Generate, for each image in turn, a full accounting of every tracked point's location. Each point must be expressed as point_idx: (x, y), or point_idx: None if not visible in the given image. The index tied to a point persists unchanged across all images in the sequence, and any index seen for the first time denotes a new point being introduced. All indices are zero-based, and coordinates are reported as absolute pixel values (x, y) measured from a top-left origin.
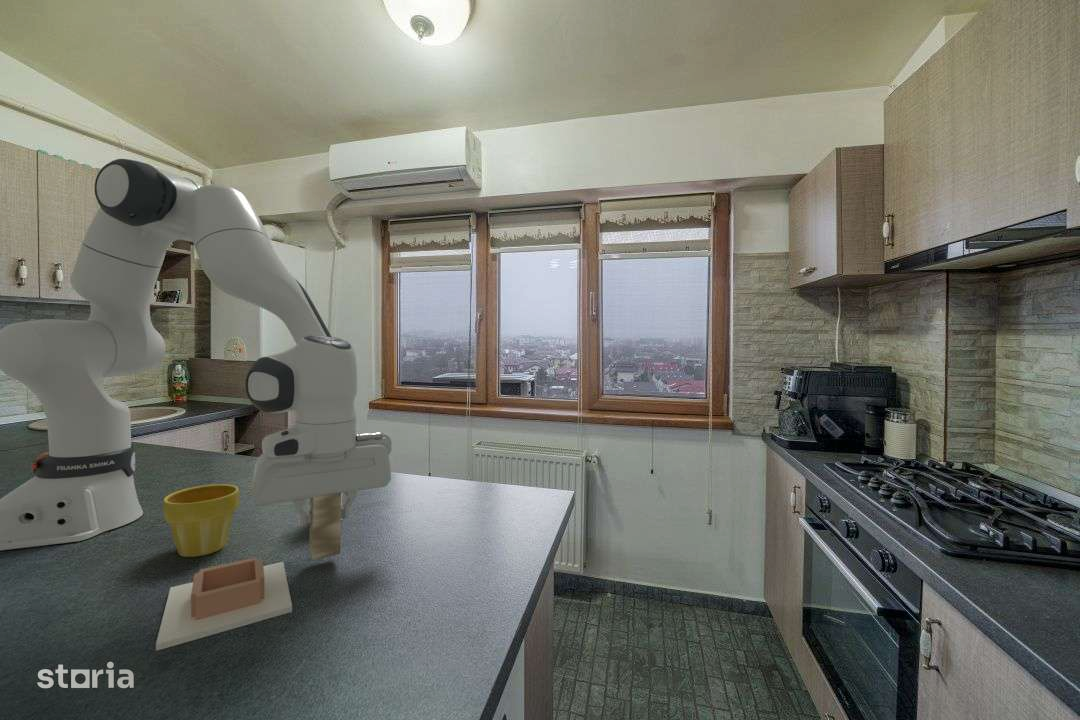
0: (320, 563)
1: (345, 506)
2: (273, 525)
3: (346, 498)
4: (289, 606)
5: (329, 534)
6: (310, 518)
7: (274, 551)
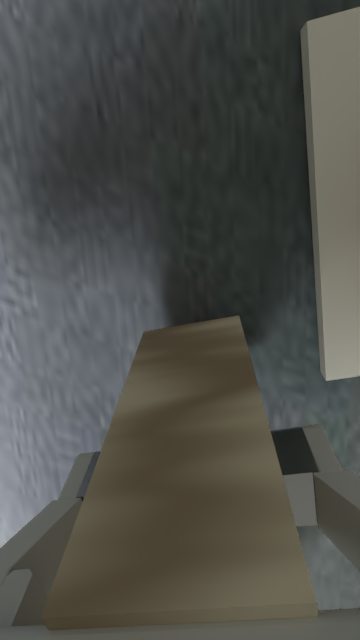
0: None
1: (75, 514)
2: (336, 588)
3: None
4: (317, 19)
5: (176, 371)
6: (282, 454)
7: (340, 463)
